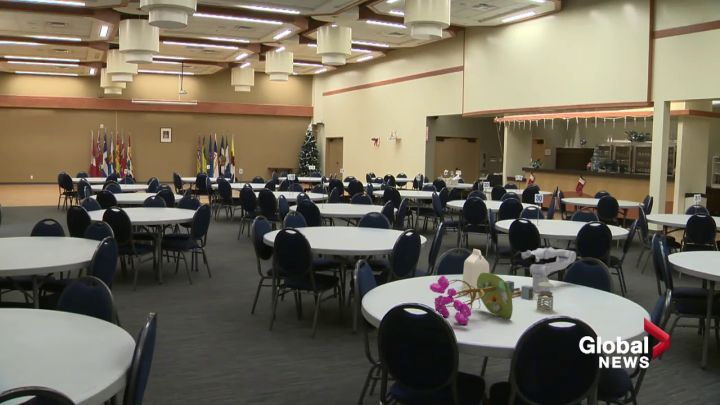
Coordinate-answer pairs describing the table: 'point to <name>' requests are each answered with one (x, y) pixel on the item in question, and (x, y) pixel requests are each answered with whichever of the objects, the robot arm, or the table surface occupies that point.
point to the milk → (474, 270)
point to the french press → (544, 298)
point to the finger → (526, 292)
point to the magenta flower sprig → (489, 290)
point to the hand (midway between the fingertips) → (518, 259)
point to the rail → (513, 289)
